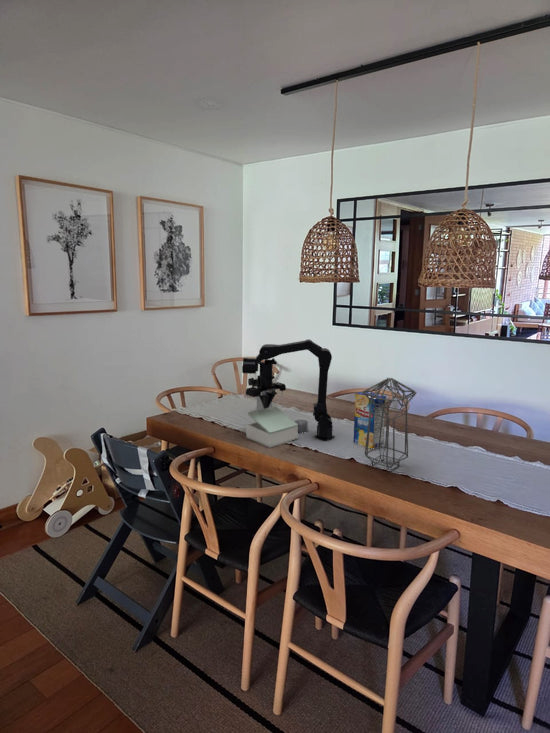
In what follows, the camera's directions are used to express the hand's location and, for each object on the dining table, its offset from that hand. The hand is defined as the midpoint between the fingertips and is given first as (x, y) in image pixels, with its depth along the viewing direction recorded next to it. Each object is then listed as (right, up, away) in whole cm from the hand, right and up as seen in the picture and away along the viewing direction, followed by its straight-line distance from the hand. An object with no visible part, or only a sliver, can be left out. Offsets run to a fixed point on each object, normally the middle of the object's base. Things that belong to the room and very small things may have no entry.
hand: (266, 408), depth 213 cm
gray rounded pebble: (+16, -11, +10) cm, 22 cm away
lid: (+3, -5, -2) cm, 6 cm away
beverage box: (+44, -15, -7) cm, 47 cm away
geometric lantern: (+46, -20, -30) cm, 58 cm away
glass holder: (+1, -6, +37) cm, 38 cm away
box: (+3, -13, 0) cm, 14 cm away
